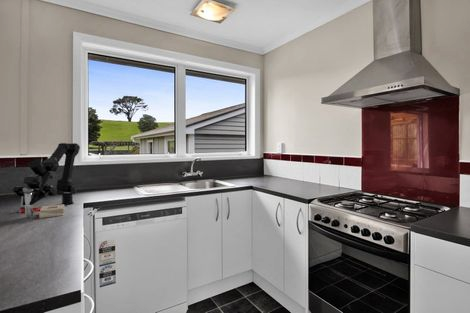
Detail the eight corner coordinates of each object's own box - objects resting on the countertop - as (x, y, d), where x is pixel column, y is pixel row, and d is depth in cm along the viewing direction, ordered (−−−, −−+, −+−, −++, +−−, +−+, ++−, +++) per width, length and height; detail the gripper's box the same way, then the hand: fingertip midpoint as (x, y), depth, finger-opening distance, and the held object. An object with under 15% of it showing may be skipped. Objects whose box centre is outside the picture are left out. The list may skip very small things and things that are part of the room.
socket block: (42, 213, 137) (41, 206, 137) (64, 210, 143) (64, 204, 142) (39, 218, 127) (39, 211, 127) (63, 215, 132) (63, 208, 132)
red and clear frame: (43, 209, 149) (24, 209, 146) (44, 187, 149) (24, 187, 146) (37, 212, 141) (17, 213, 138) (37, 189, 141) (17, 189, 138)
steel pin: (24, 217, 129) (23, 189, 129) (34, 215, 131) (33, 188, 131) (23, 218, 126) (22, 190, 125) (33, 217, 128) (32, 189, 127)
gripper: (14, 170, 131) (-4, 196, 121) (52, 170, 132) (37, 195, 122) (26, 184, 139) (10, 208, 129) (61, 183, 140) (49, 207, 130)
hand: (26, 204), depth 127 cm, fingers closed on steel pin, 3 cm apart
